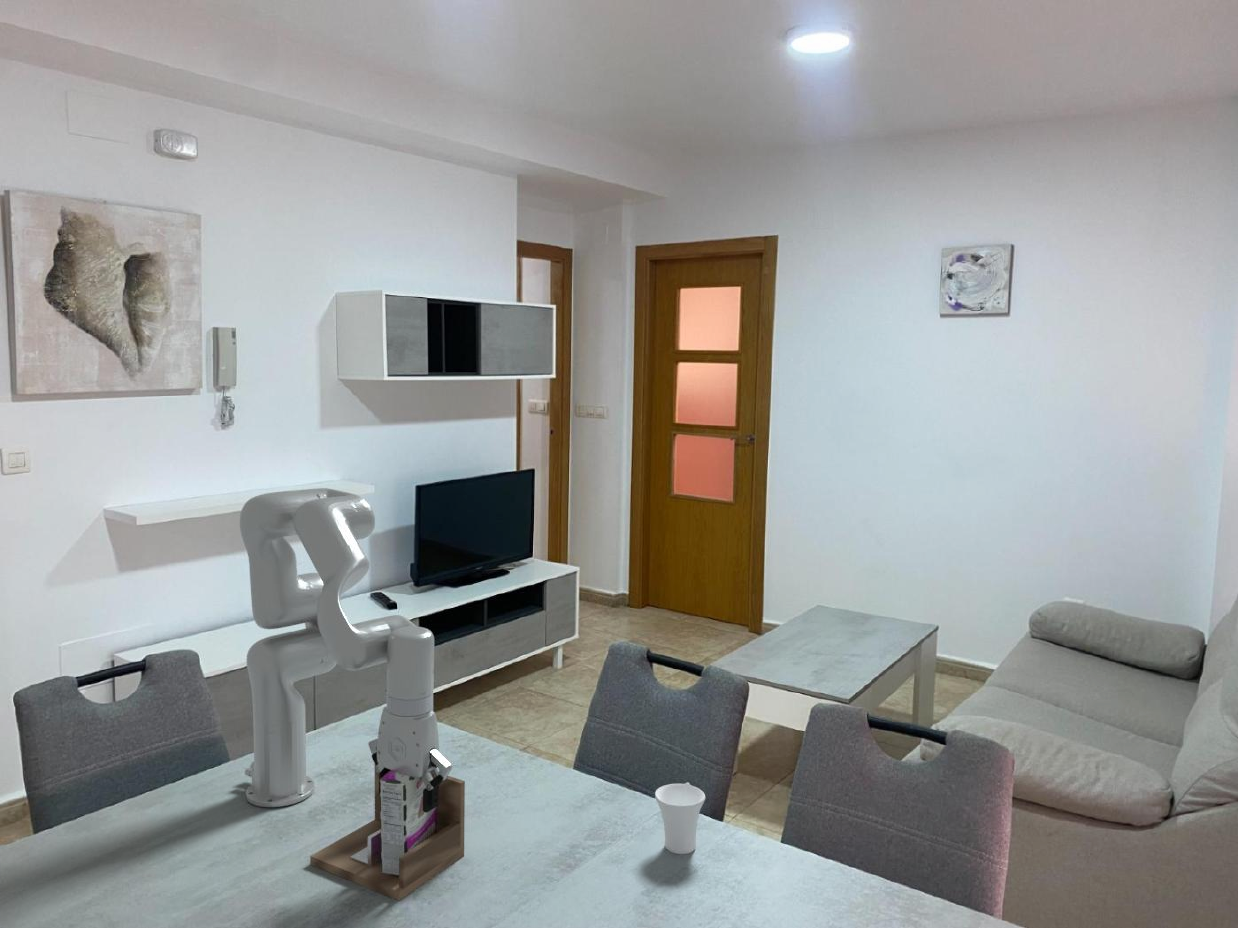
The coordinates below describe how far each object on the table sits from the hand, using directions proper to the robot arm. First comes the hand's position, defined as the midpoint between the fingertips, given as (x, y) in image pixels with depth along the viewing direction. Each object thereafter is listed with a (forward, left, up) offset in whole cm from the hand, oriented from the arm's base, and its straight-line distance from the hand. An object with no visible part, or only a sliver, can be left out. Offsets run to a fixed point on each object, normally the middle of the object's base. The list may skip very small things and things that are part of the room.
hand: (408, 800), depth 155 cm
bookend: (-6, 0, -10) cm, 12 cm away
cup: (+36, +31, -12) cm, 49 cm away
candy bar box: (0, 0, -10) cm, 10 cm away
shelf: (-4, 0, -12) cm, 13 cm away
